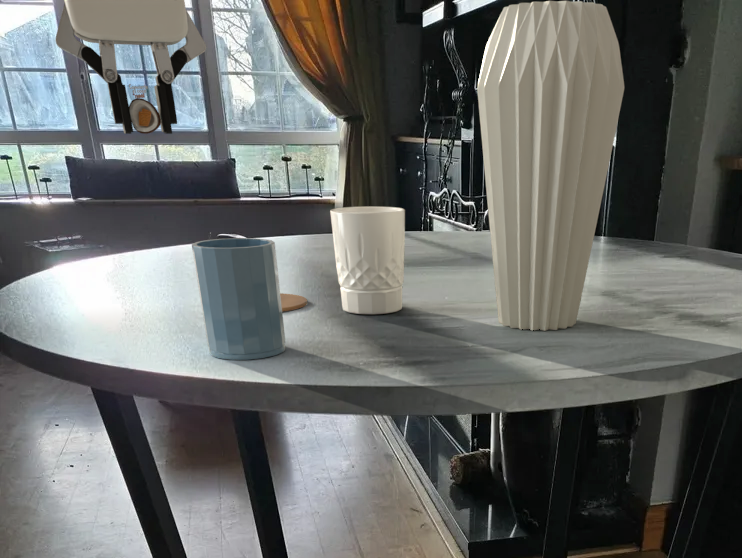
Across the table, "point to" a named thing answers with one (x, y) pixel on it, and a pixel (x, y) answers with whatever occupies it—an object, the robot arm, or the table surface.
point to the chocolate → (143, 113)
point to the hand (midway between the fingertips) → (147, 131)
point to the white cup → (369, 257)
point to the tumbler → (240, 297)
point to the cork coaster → (292, 302)
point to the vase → (547, 152)
